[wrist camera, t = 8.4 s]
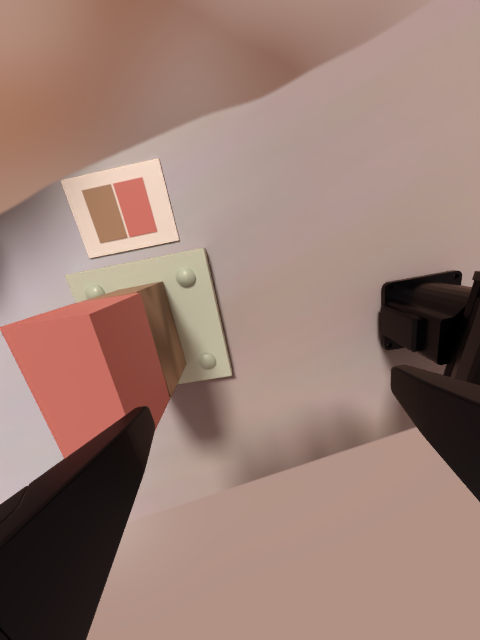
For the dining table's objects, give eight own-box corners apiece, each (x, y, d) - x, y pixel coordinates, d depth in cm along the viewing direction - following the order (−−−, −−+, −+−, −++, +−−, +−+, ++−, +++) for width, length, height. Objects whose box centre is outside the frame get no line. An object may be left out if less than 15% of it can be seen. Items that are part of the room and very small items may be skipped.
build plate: (205, 248, 19) (202, 247, 18) (232, 370, 22) (231, 376, 21) (73, 273, 20) (62, 275, 19) (119, 388, 23) (113, 396, 22)
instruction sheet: (158, 158, 17) (158, 158, 17) (179, 240, 19) (178, 240, 19) (61, 180, 18) (59, 180, 17) (90, 258, 19) (89, 258, 19)
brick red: (79, 301, 14) (-1, 327, 10) (140, 292, 14) (89, 314, 9) (118, 405, 17) (68, 467, 12) (170, 398, 16) (141, 459, 12)
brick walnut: (118, 289, 19) (77, 302, 14) (162, 281, 19) (136, 291, 14) (146, 370, 21) (119, 405, 17) (186, 364, 21) (171, 397, 16)
